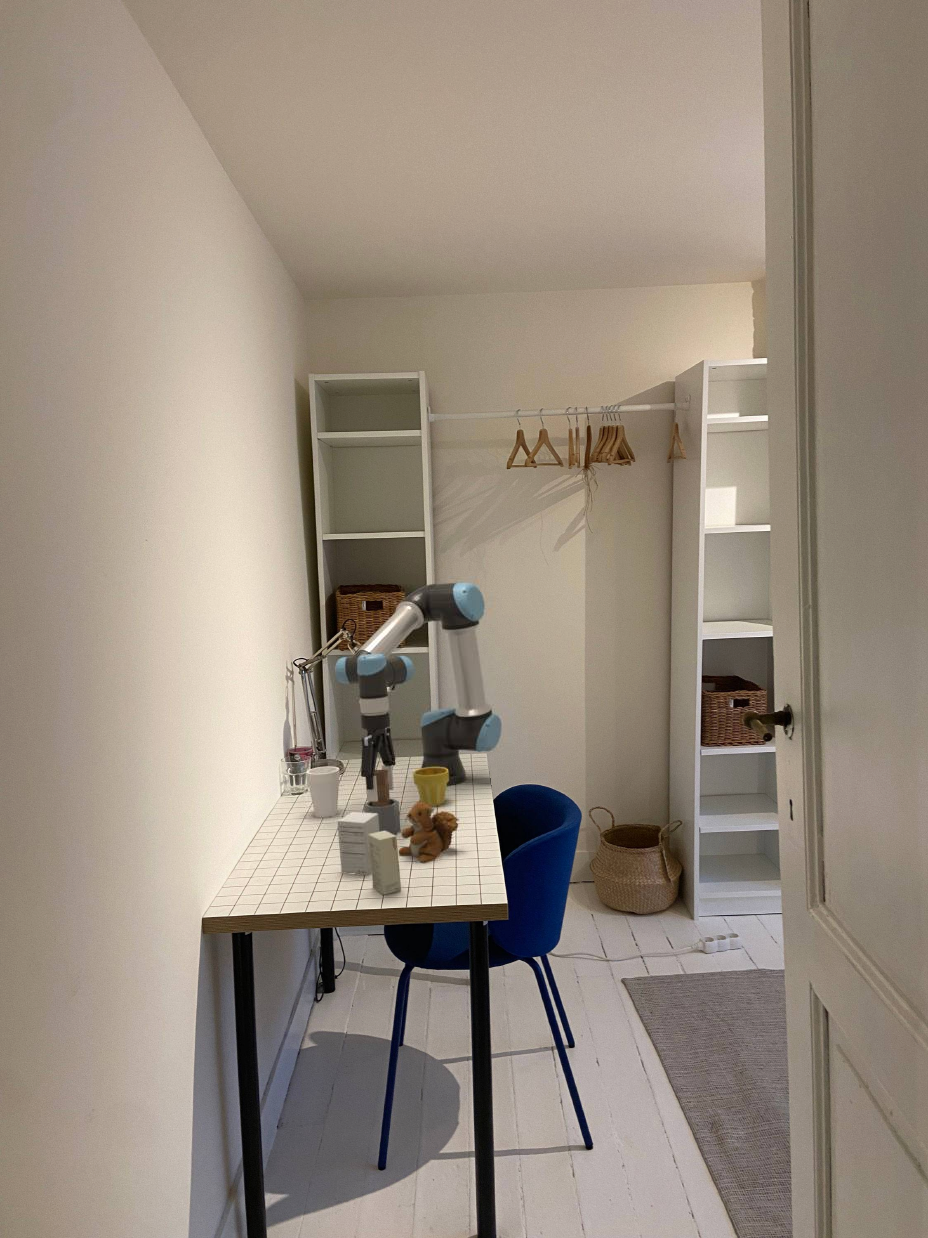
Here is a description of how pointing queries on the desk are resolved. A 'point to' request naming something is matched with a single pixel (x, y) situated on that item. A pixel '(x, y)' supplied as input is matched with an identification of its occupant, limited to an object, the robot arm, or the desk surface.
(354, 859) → the supplement box
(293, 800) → the desk surface
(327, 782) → the foam cup
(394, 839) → the skincare box
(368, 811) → the jar
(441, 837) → the stuffed squirrel
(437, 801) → the plant pot
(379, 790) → the tan wooden beam
